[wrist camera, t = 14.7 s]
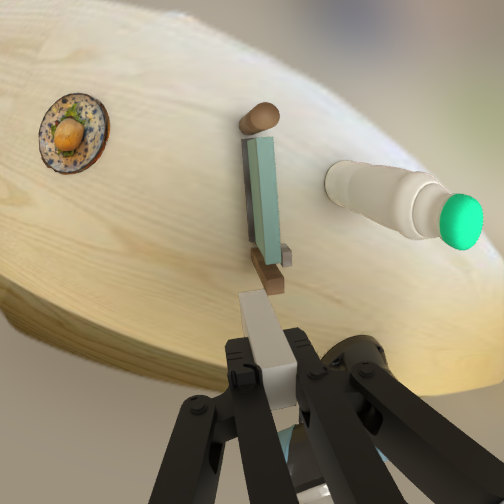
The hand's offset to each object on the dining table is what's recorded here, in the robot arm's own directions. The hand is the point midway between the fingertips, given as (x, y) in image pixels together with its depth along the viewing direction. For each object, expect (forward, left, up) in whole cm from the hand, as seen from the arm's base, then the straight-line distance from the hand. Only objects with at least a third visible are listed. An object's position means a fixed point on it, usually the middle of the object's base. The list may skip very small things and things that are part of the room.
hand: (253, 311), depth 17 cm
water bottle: (+4, -19, -25) cm, 32 cm away
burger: (+15, +21, -26) cm, 36 cm away
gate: (+3, -5, -24) cm, 24 cm away
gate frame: (+3, -5, -25) cm, 26 cm away
